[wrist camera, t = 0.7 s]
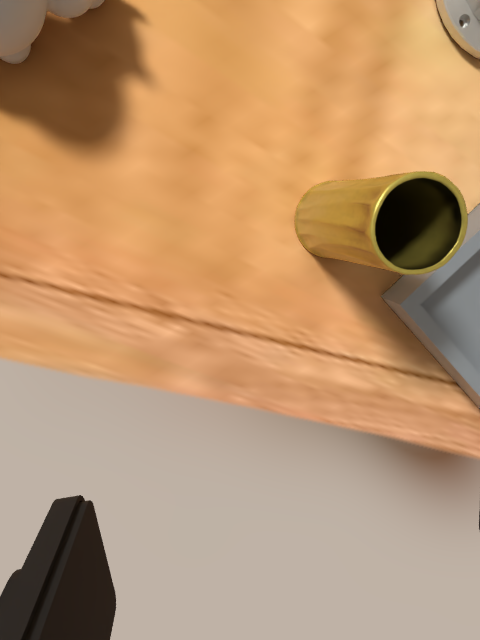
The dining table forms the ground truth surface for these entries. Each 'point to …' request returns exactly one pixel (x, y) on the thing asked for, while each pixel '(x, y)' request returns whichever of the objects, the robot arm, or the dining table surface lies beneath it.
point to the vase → (385, 221)
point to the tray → (447, 310)
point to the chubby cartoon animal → (32, 22)
